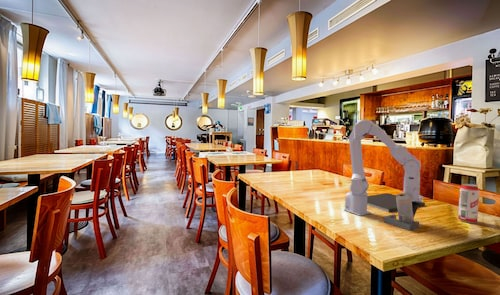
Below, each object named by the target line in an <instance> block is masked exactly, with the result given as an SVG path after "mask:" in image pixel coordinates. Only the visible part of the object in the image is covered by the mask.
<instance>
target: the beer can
mask: <svg viewBox="0 0 500 295" xmlns="http://www.w3.org/2000/svg"><path fill="white" fill-rule="evenodd" d="M479 200H480V189H479V187H478V184H472V183H462V184H461V186H460V188H459V198H458V201H459V202H458V217H457V218H458V219H459V220H460V222H462V223H467V224H475V223H477V222H478V218H479V217H478V216H479V215H478V214H479Z"/></svg>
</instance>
